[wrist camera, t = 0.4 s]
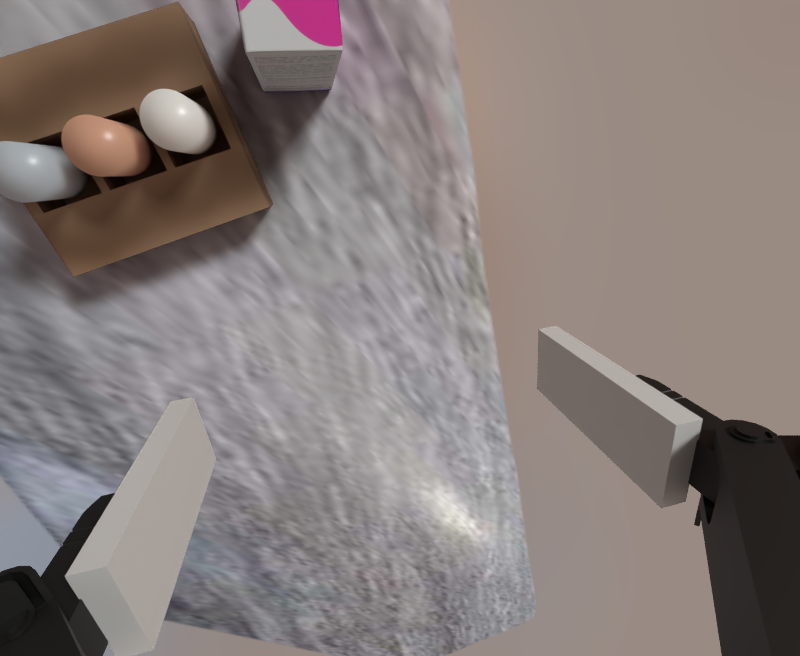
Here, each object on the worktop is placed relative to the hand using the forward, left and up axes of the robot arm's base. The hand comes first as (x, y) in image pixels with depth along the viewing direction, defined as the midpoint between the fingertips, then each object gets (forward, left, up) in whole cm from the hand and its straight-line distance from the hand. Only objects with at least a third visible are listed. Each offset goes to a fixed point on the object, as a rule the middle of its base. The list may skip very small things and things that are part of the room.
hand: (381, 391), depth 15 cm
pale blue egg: (-14, -17, -22) cm, 31 cm away
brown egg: (-14, -12, -22) cm, 28 cm away
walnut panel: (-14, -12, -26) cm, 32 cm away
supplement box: (-17, +3, -26) cm, 31 cm away
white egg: (-14, -7, -22) cm, 27 cm away
